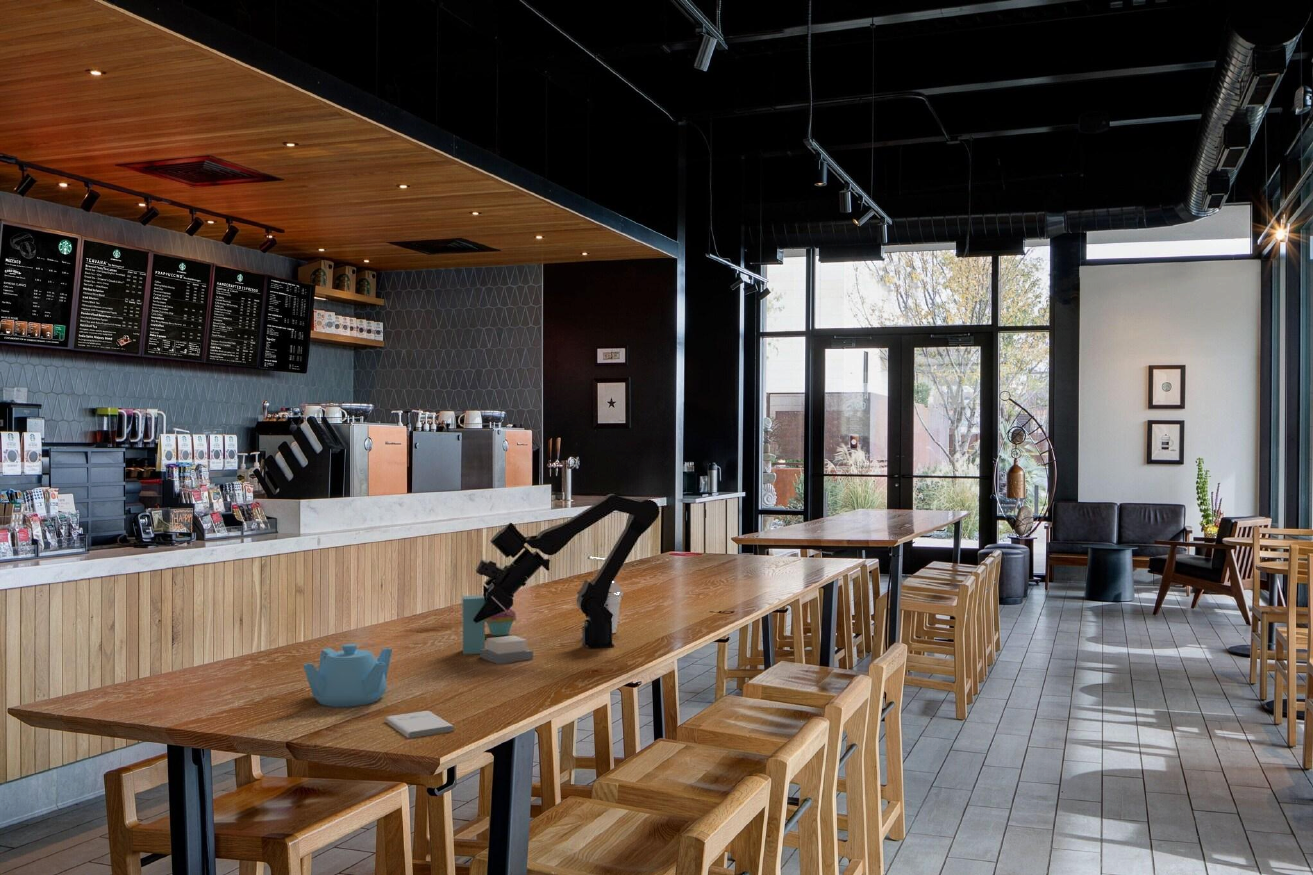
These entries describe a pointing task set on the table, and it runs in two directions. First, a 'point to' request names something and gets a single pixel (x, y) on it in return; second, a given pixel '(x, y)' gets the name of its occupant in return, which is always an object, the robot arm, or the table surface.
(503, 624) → the cupcake
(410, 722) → the external hard drive
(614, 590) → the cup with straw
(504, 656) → the tower base slab
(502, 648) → the tower top slab
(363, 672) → the teapot
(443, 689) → the table surface
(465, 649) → the teal pillar
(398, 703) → the table surface
